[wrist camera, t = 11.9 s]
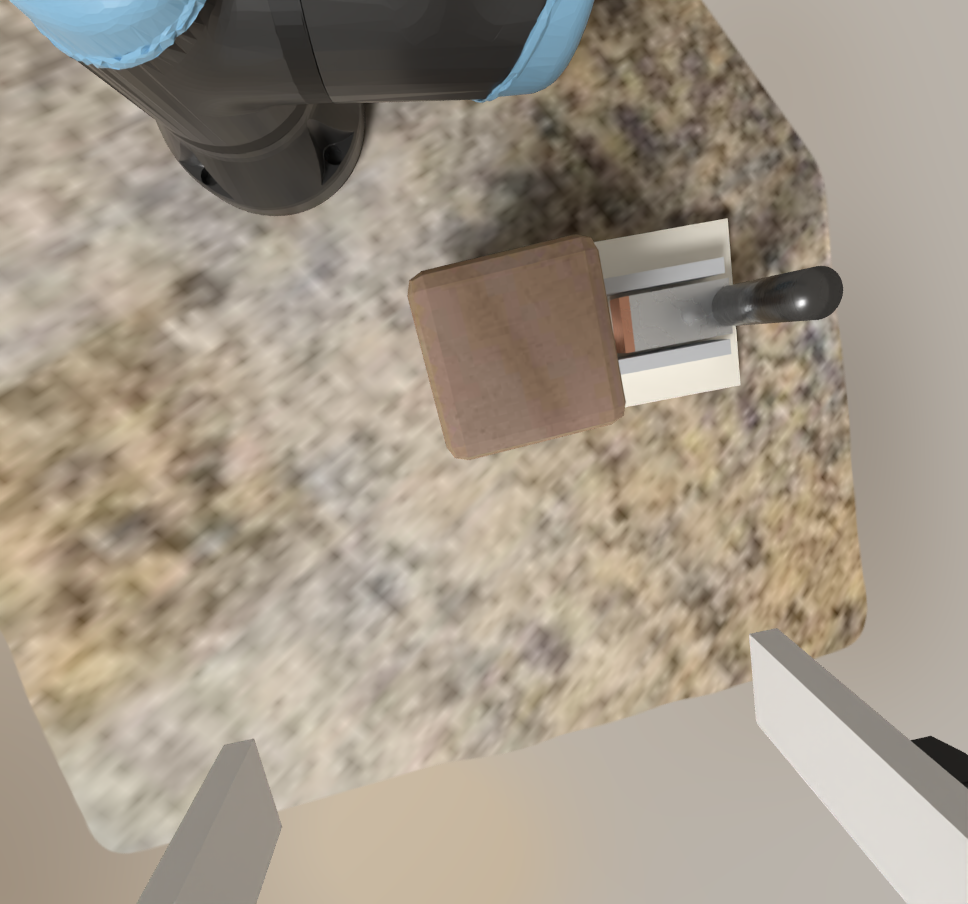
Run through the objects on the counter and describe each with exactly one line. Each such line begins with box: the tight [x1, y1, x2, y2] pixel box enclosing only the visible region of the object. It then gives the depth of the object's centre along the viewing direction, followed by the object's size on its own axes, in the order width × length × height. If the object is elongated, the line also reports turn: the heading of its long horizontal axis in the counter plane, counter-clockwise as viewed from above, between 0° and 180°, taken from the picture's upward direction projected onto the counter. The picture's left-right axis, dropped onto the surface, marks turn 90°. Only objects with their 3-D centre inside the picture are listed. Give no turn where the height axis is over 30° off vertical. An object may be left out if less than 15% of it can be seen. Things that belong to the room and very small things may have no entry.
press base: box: [594, 218, 740, 407], centre depth 44 cm, size 14×14×5 cm
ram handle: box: [610, 266, 843, 353], centre depth 38 cm, size 4×11×12 cm, turn 100°
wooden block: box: [407, 234, 626, 460], centre depth 36 cm, size 10×10×20 cm
